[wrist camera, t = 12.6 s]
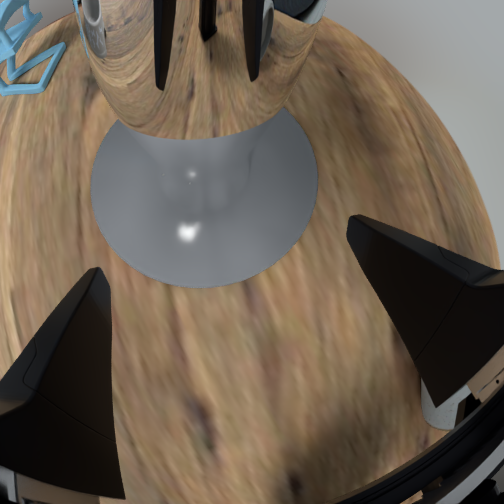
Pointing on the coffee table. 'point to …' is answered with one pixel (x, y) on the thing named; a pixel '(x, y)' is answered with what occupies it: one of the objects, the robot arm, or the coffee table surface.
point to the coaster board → (205, 224)
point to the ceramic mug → (441, 409)
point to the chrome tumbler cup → (198, 82)
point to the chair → (11, 40)
